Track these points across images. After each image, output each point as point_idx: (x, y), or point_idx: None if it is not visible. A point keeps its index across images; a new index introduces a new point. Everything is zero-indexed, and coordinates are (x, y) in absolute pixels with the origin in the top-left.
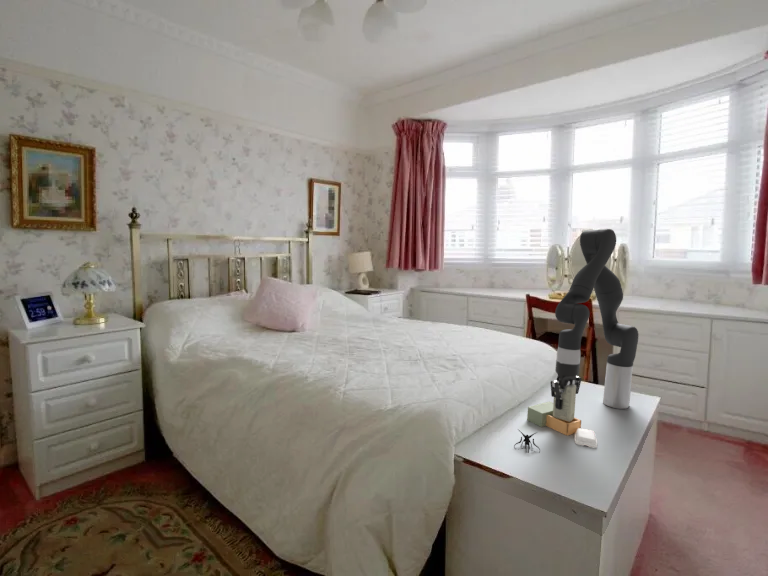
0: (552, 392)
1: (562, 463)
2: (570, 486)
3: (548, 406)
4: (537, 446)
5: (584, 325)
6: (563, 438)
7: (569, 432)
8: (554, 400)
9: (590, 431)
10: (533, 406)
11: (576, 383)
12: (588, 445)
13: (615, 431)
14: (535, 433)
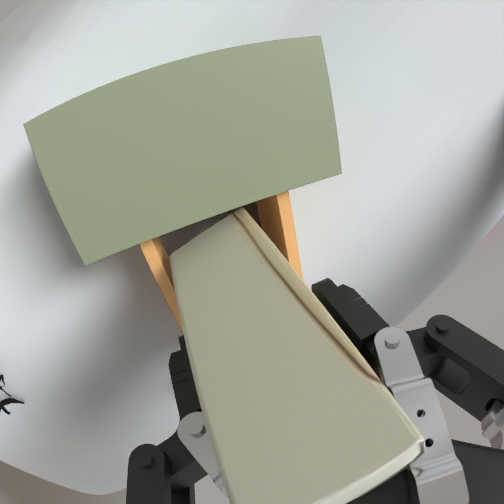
0: (137, 500)
1: (75, 438)
2: (68, 474)
3: (229, 127)
4: (15, 402)
5: None
6: (152, 334)
7: None
8: (191, 355)
9: None
10: (78, 112)
11: (481, 410)
12: None
13: (399, 279)
14: (3, 409)
